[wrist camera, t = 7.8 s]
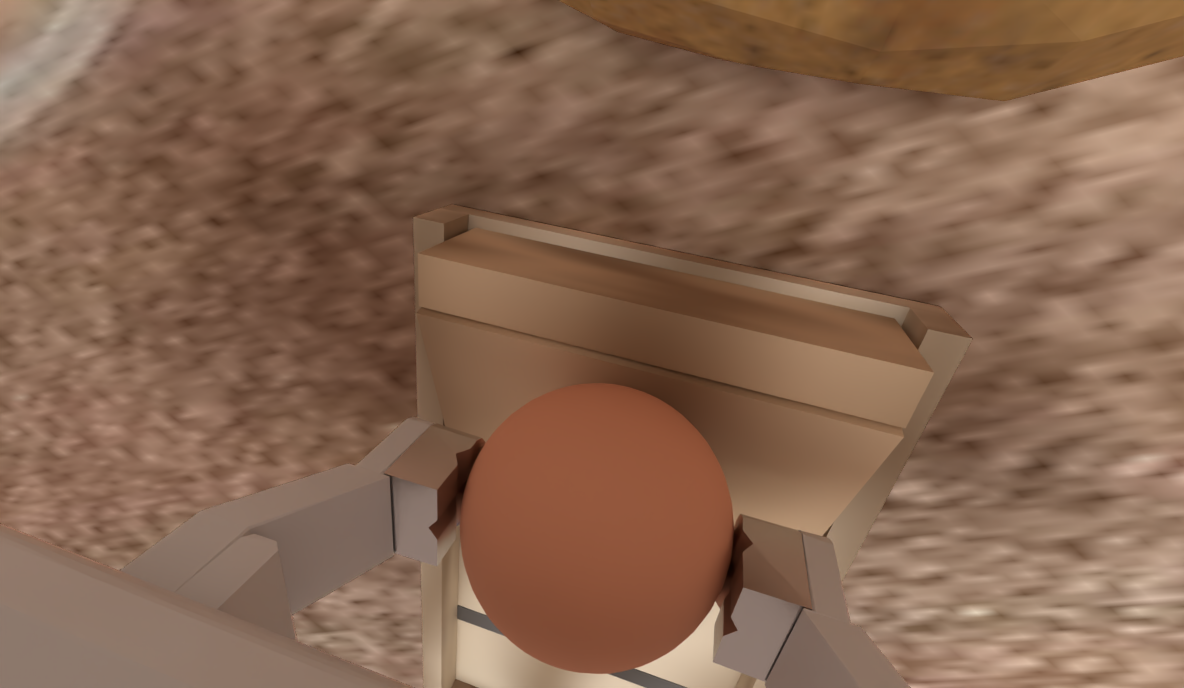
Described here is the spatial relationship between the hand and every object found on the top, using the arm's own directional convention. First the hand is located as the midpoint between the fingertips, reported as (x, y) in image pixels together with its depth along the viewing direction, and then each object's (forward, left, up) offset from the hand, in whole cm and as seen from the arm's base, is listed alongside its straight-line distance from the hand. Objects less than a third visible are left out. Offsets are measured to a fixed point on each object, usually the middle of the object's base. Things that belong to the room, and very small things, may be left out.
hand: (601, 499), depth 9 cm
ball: (0, 0, 0) cm, 0 cm away
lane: (0, -7, -5) cm, 9 cm away
